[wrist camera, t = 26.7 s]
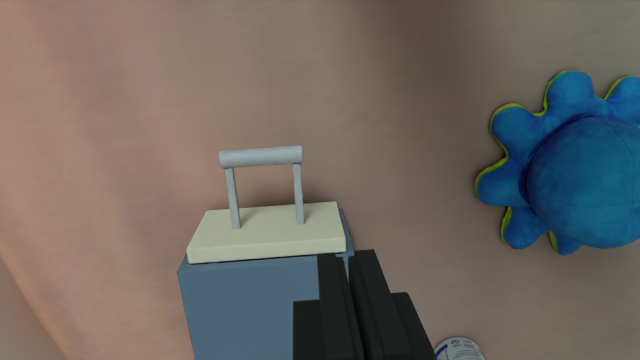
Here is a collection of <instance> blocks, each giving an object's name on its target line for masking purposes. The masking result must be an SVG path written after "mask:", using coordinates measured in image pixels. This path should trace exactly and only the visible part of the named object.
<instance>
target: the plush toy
mask: <svg viewBox="0 0 640 360" xmlns="http://www.w3.org/2000/svg"><path fill="white" fill-rule="evenodd" d="M543 105H544V108H545V109H544V111H542V112H541V113H537V112H535V113H533V112H531V111H529V110H528V109H527V108H525V107H524V106H521V105H518V104H516V103H510V104H506V105H504V106H502V107H500V108H499V109H497V110H496V111H495V113H493V116H491V118H490V123H489V133H490V134H491V135H493V136H494V138H495V139H496V140H497V142H498V143H499V144H500V145H501V146H502V148H503V149H504V151H505V153H506V157H505V159H501V160H500V161H499V162H498V163H496V164H494V165H493V166H491V167H488V168H485V169H484V171H482V172H481V173H480V174H479V175H478V177H476V180H475V183H474V184H475V193H476V196H477V198H478V199H479V200H480V201H482V202H484V203H485V204H488V205H491V206H509V207H508V209H507V211H508V212H506V213H505V215H506V216H505V217H504V218H503V220H502V227H501V237H502V240H503V242H505V243H507V244H509V245H510V246H511V247H512V248H514V249H524V248H526V247H528V246H530V245H531V244H532V243H534V242H535V241H536V240H537V239H538V238H539V237H540V236H541V235H542V234H543V233H545V232H546V231H549V232H548V233H549V234H550V239H551V241H552V245H553V248H554V250H555V251H556V252H558V253H559V255H568V254H571V253H573V252H574V251H576V250H577V249H579V248H580V247H581V246H582V245H585V246H589V247H595V248H601V249H606V248H615V247H620V246H624V245H627V244H629V243H632V242H633V241H635V240H637V239H638V238H640V128H639V124H640V79H639V78H636V77H633V76H626V75H625V77H622V78H621V79H619V80H617V82H615V83H614V84H613V85H612V87H611V89H609V91H608V94H607V95H606V97H605V98H603V99H601V98H599V97H598V96H597V95H596V94H595V93H594V91H593V86H592V81H591V78H590V77H589V76H588V75H587V74H586V73H583V72H579V71H577V70H570V71H569V70H567V71H562V72H560V73H558V74H557V75H555V76H554V77H553V78H552V80H551V81H549V84H548V86H547V88H546V91H545V94H544V104H543Z"/></svg>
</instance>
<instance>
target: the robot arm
mask: <svg viewBox="0 0 640 360" xmlns="http://www.w3.org/2000/svg"><path fill="white" fill-rule="evenodd" d="M317 269H318V285H319V299H315V300H303V301H293V360H439V359H437V357H436V355H435V352H434V350H433V348H432V346H431V343H430V341H429V339H428V337H427V334H426V332H425V330H424V328H423V325H422V323H421V321H420V319H419V317H418V314H417V312H416V310H415V308H414V305H413V303H412V301H411V299H410V296H409V295H408V293H406V292H401V293H390V290H389V288H388V285H387V283H386V280H385V277H384V275H383V272H382V269H381V267H380V264H379V261H378V259H377V256H376V253H375V251H374V249H371V250H358V251H355V254H354V256H348V276H349V282H348V278H347V273H346V269H345V264H344V260H343V257H336V254H335V252H331V253H318V254H317Z"/></svg>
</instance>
